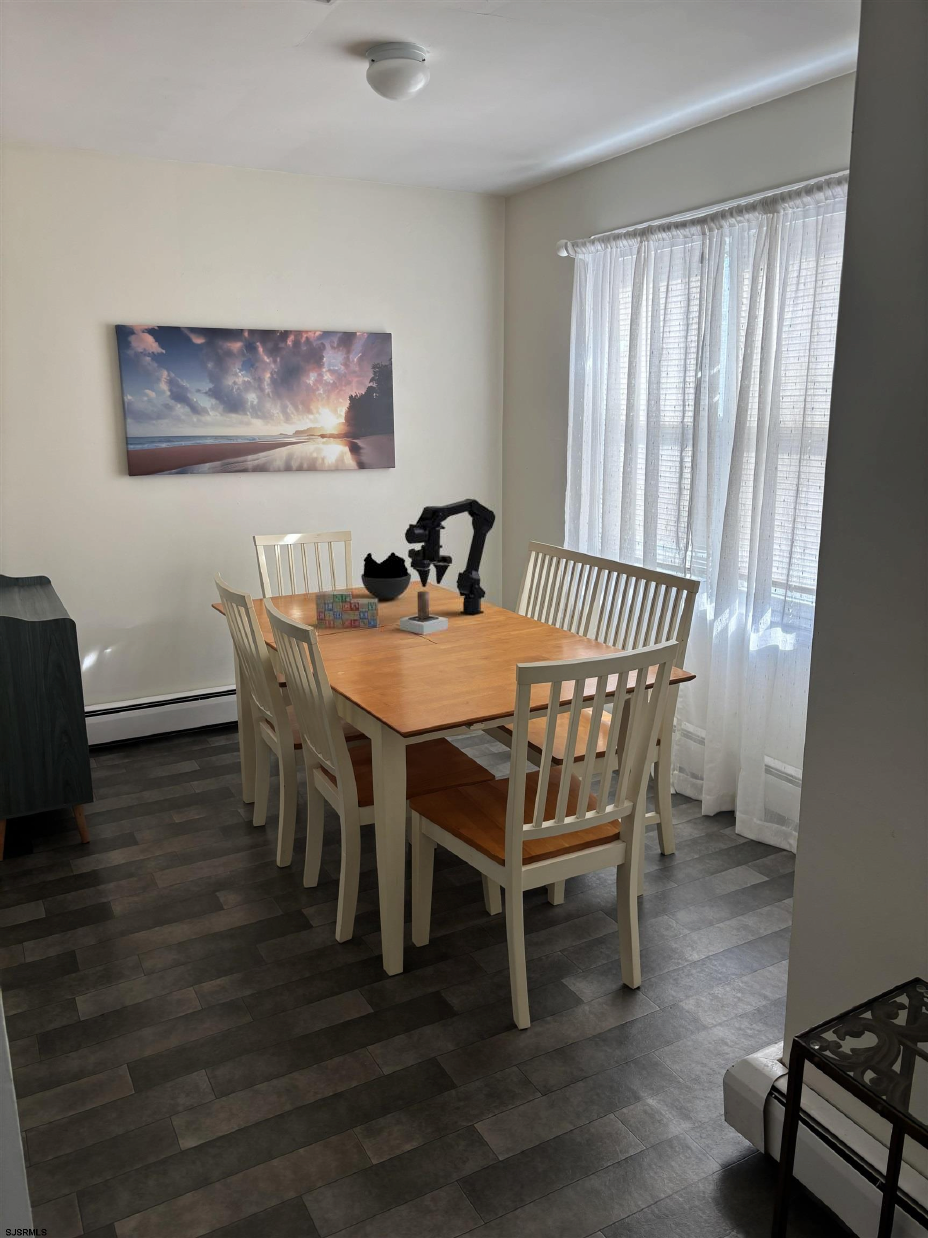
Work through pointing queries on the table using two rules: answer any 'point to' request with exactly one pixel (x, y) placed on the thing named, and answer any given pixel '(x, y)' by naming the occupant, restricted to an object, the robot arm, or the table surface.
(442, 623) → the socket block
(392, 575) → the coal bowl
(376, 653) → the table surface
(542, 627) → the table surface
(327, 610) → the stack of blocks
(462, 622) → the table surface
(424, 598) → the walnut peg
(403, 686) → the table surface
